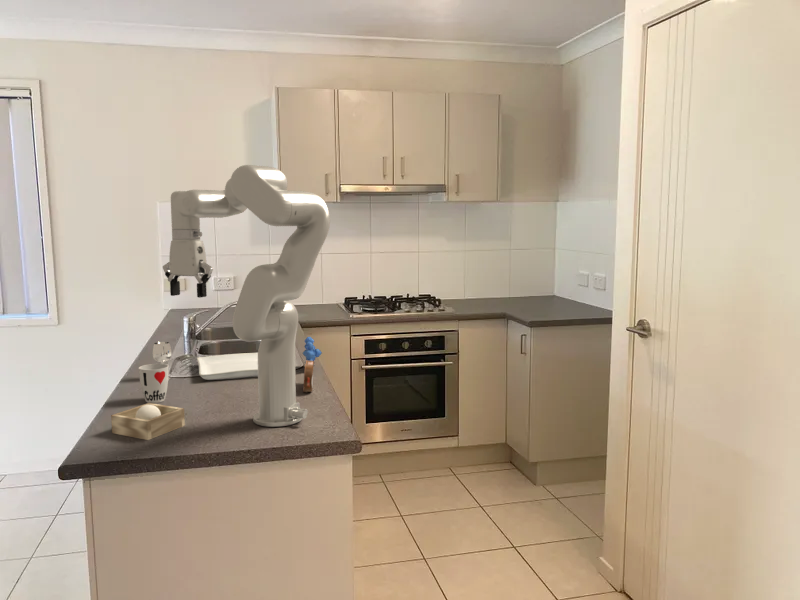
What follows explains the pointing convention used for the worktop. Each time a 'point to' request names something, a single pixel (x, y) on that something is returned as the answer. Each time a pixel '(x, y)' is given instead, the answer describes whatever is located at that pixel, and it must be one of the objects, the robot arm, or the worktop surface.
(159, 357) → the wineglass
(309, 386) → the tin
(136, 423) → the wooden square tray
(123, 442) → the worktop surface
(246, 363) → the square plate
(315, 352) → the grapes
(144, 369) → the cup
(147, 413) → the ball
